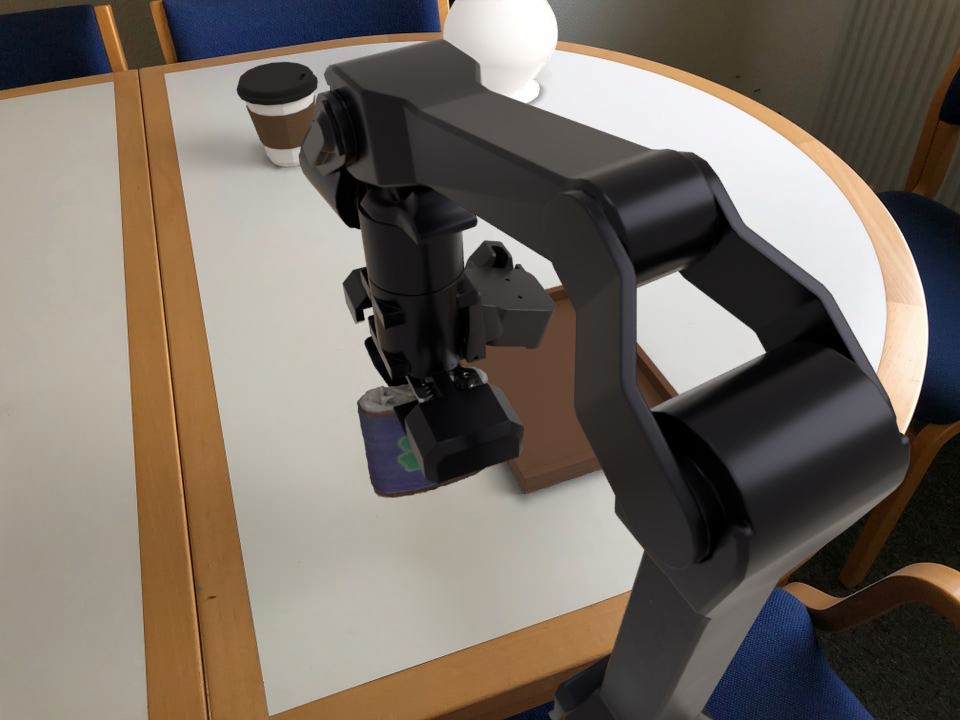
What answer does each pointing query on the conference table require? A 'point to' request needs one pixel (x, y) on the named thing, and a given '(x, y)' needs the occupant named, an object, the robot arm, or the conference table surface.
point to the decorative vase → (505, 41)
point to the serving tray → (555, 399)
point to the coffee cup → (280, 107)
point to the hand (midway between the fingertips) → (433, 442)
